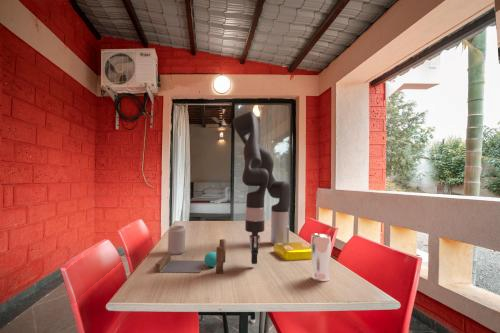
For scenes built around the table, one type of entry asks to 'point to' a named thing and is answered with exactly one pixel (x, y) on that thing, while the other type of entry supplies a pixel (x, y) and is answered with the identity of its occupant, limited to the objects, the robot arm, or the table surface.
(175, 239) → the can
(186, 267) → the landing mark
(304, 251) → the element tile
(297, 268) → the table surface
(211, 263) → the ball
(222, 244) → the post
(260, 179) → the robot arm
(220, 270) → the post
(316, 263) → the silver metal tumbler
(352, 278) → the table surface
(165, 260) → the strip
